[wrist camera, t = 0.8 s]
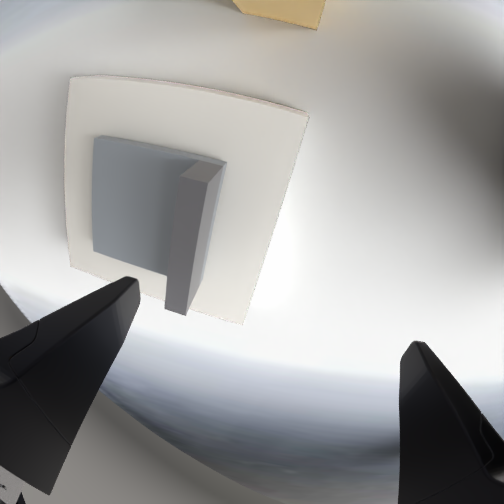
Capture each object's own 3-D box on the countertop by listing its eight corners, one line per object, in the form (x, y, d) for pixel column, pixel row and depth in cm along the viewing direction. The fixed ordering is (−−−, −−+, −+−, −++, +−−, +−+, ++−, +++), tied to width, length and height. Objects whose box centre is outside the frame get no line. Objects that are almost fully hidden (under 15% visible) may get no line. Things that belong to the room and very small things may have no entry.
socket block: (307, 112, 16) (308, 117, 13) (249, 297, 23) (242, 325, 21) (98, 75, 16) (70, 77, 13) (90, 246, 23) (70, 266, 21)
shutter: (227, 161, 15) (207, 183, 12) (202, 278, 19) (185, 315, 16) (102, 134, 15) (63, 150, 12) (99, 245, 19) (71, 273, 16)
